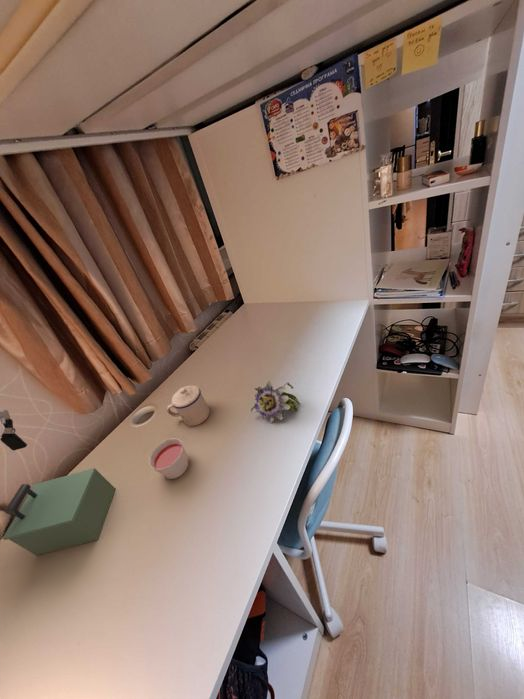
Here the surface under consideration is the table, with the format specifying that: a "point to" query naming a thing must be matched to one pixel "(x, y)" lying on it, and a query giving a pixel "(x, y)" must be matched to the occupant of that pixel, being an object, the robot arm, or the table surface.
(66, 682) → the table surface
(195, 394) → the teacup with lid
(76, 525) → the green box
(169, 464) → the candle
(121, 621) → the table surface
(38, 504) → the lid
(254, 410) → the passion flower
